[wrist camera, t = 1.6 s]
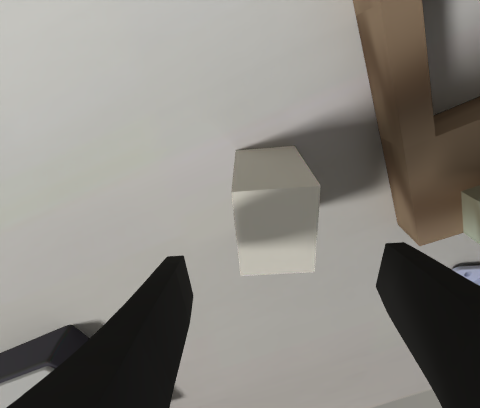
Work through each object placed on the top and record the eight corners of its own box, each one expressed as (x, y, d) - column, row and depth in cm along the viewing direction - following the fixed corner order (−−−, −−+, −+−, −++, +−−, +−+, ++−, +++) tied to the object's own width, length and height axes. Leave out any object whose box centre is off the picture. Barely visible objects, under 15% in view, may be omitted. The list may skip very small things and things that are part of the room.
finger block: (294, 145, 15) (320, 185, 10) (293, 213, 18) (314, 275, 12) (235, 150, 16) (231, 191, 10) (241, 216, 18) (241, 278, 13)
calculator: (83, 453, 29) (-44, 402, 23) (100, 408, 33) (-5, 353, 26) (158, 434, 27) (41, 371, 20) (168, 388, 31) (72, 321, 24)
